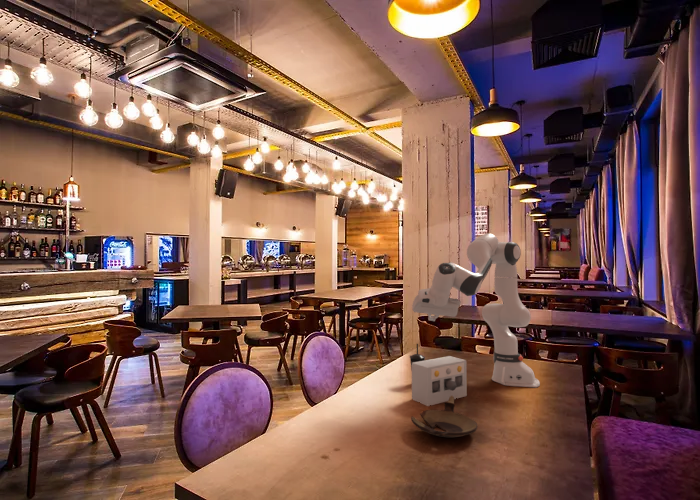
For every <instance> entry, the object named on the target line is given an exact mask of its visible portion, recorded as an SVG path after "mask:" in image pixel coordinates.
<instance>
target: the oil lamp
mask: <svg viewBox="0 0 700 500" xmlns="http://www.w3.org/2000/svg"><path fill="white" fill-rule="evenodd" d="M454 409H455V399H454V397H453V396H450V398H449V400H448V401H446V402H444V409H442V410H441V409H440V410H438V409H425V410H423V411H422V412H421V413H420V414H419V415H420V417H421V419H423V421H424V422H425V423H426V424H427V425H426V424H424V423H423V422H421V421H420V420H418V419H417V418H416V417H414V416H413V415H412V416H411V418H410V419H411V421H412V422H411V423H413V425H415V426H416V427H417V428H418V429H420V430H421V431H422V432H425V433H427V434H430V435H432V436H437V437H441V438H447V439H448V438H449V439H450V438H459V437H464V436H468V435H470V434H473V433H474V432H476V431H477V430H478V423H477V422H476V420H474V419H472V418H471V417H469V416H467V415H464V414H462V413H459V412H455V410H454ZM436 427H438V428H439V429H441V430H437V429H435V428H436ZM442 430H443V431H442Z"/></svg>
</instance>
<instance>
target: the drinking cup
mask: <svg viewBox="0 0 700 500" xmlns="http://www.w3.org/2000/svg"><path fill="white" fill-rule="evenodd" d="M409 358H410V367H411V368H410V370H411V372H412V363H413V362H419V361H424V360H425V359H426V356H425V355H423V354H421V353H420V354H419V343H416V353H413V354H412V355H409Z"/></svg>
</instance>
